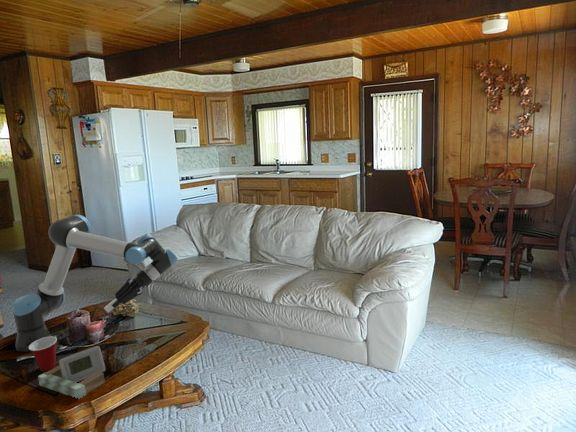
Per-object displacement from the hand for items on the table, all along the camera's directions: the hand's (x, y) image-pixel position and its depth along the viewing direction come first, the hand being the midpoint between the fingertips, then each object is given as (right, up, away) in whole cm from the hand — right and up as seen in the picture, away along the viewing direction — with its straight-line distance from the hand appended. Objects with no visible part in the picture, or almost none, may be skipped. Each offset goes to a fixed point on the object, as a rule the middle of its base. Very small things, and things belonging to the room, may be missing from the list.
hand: (105, 310), depth 199 cm
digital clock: (-1, -23, -19) cm, 30 cm away
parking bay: (-3, -24, -23) cm, 33 cm away
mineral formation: (-7, -12, +43) cm, 45 cm away
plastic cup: (-21, -23, -10) cm, 32 cm away
